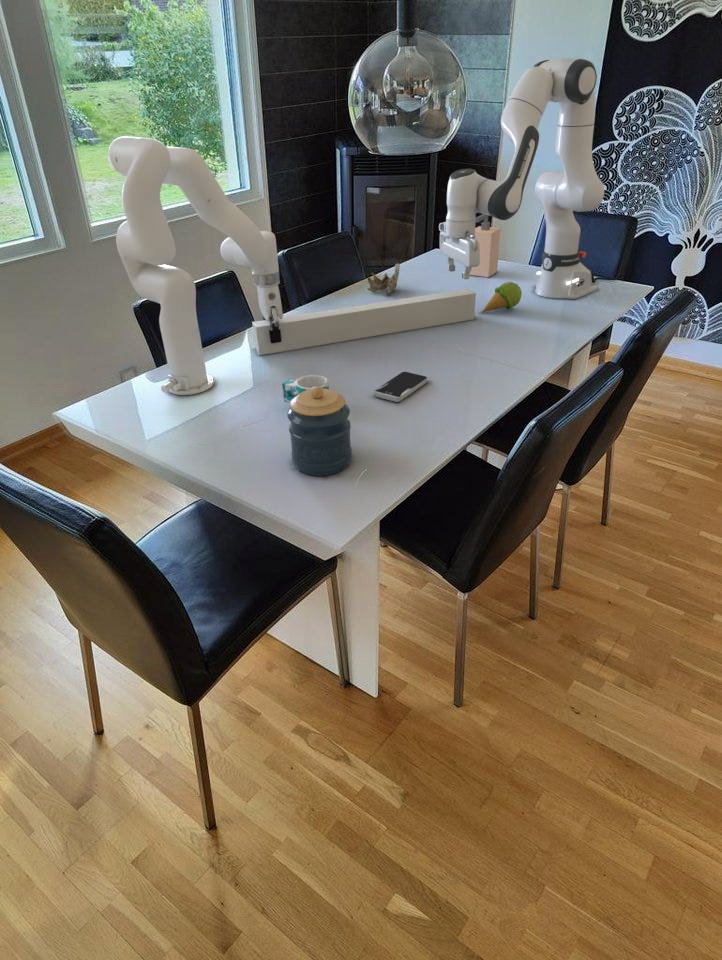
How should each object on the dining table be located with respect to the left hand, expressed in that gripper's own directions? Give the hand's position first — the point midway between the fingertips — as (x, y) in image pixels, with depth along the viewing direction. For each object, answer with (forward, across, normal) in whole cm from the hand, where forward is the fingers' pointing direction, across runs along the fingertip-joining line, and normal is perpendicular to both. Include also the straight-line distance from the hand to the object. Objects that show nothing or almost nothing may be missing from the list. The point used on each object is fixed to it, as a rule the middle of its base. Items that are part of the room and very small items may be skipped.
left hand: (272, 337), depth 199 cm
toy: (0, +2, -78) cm, 78 cm away
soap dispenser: (+4, +40, -92) cm, 100 cm away
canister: (+4, -68, +6) cm, 68 cm away
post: (+4, 0, -30) cm, 31 cm away
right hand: (-11, 0, -61) cm, 62 cm away
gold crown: (+4, +38, -52) cm, 65 cm away
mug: (+4, -43, +2) cm, 44 cm away
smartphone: (+4, -41, -24) cm, 48 cm away
